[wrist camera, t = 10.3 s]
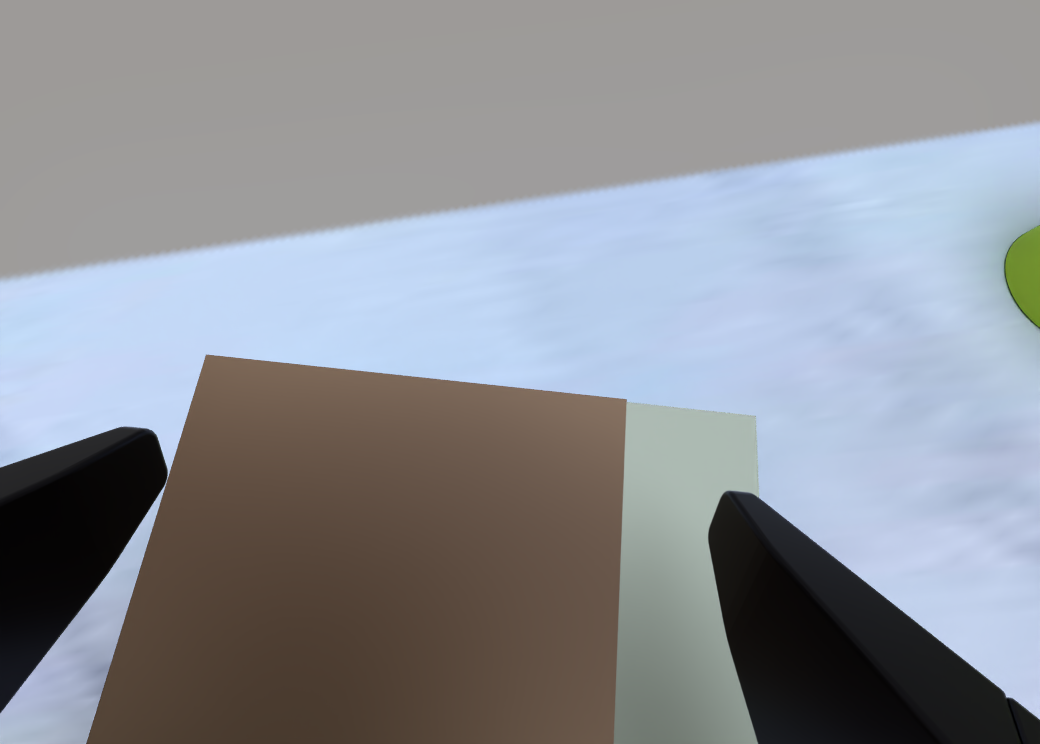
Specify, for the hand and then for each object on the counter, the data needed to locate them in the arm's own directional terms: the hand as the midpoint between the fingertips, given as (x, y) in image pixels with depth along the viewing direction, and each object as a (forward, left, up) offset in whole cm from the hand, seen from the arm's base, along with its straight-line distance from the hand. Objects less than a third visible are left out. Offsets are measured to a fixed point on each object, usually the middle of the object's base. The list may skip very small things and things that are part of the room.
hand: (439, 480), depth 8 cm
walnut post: (-1, -1, -10) cm, 10 cm away
